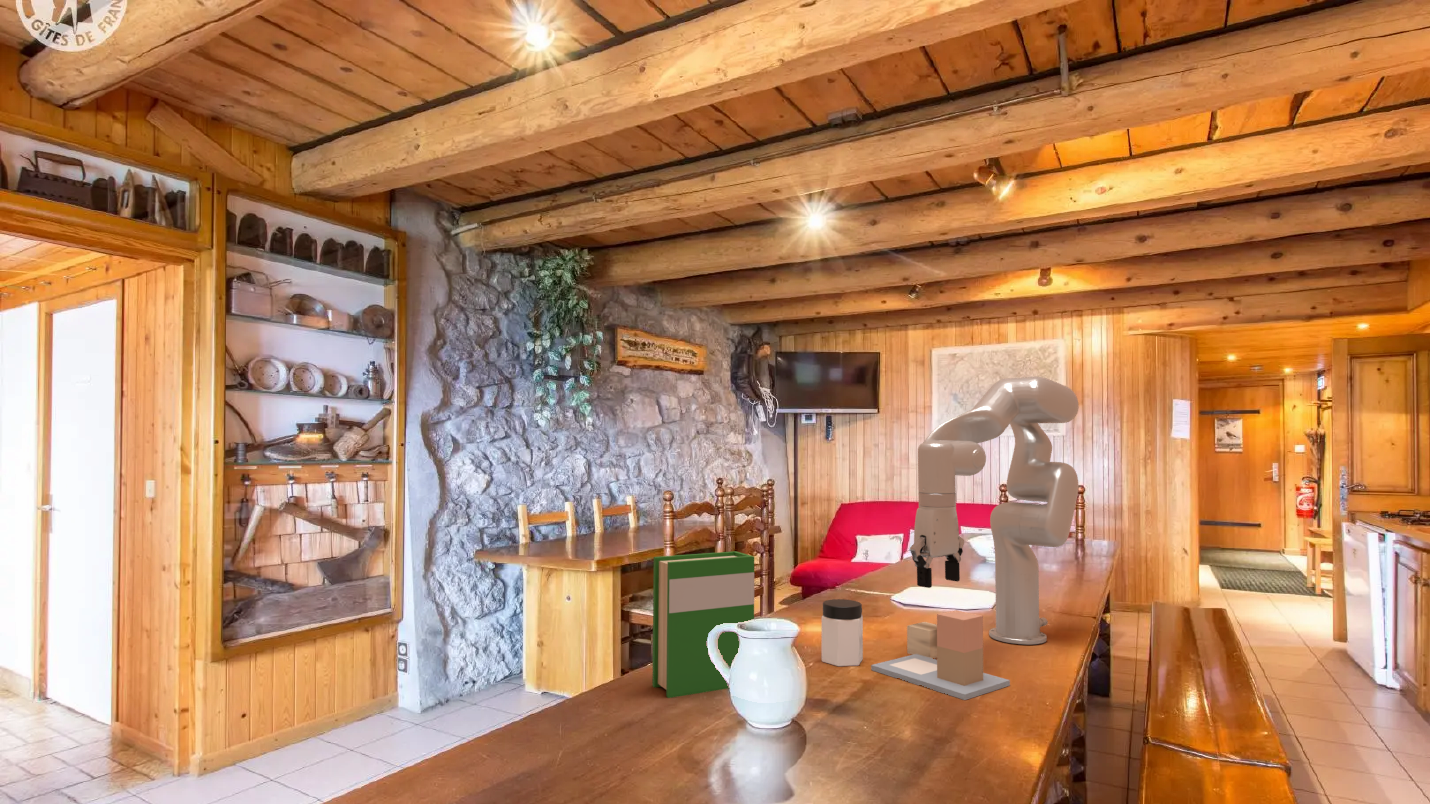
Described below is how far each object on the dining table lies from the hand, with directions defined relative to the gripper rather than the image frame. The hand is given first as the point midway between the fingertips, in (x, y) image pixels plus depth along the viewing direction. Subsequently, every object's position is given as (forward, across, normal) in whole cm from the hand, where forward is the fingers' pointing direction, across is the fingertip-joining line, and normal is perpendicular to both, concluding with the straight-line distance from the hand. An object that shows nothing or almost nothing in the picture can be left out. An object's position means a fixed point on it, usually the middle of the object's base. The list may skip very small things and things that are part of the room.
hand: (938, 583), depth 161 cm
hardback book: (+16, +48, -19) cm, 54 cm away
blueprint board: (+16, +9, +6) cm, 19 cm away
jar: (+16, +15, -14) cm, 26 cm away
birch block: (+17, -4, -6) cm, 18 cm away
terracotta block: (+9, +9, +11) cm, 16 cm away
